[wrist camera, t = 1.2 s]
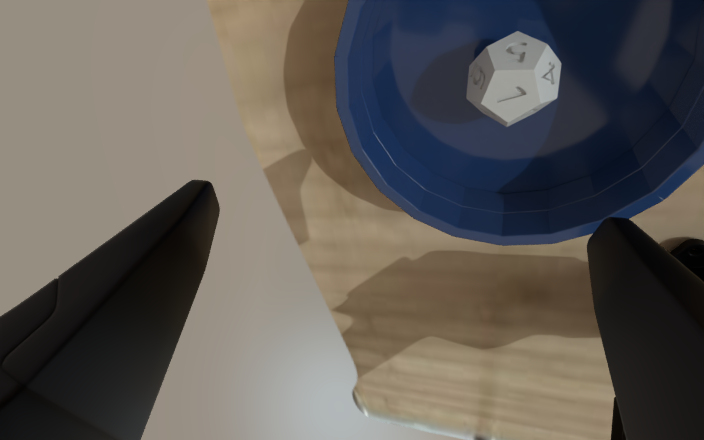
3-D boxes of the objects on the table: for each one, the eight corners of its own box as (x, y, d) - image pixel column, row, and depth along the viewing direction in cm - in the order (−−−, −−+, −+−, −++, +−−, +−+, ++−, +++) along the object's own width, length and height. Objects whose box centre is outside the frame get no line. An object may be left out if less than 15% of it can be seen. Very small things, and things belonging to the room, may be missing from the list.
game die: (459, 45, 18) (450, 67, 15) (552, 11, 16) (557, 29, 14) (480, 118, 19) (474, 146, 17) (565, 94, 17) (572, 122, 15)
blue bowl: (836, -53, 13) (933, -38, 10) (560, 236, 22) (566, 288, 19) (434, -211, 13) (409, -242, 10) (332, 134, 23) (304, 169, 20)
